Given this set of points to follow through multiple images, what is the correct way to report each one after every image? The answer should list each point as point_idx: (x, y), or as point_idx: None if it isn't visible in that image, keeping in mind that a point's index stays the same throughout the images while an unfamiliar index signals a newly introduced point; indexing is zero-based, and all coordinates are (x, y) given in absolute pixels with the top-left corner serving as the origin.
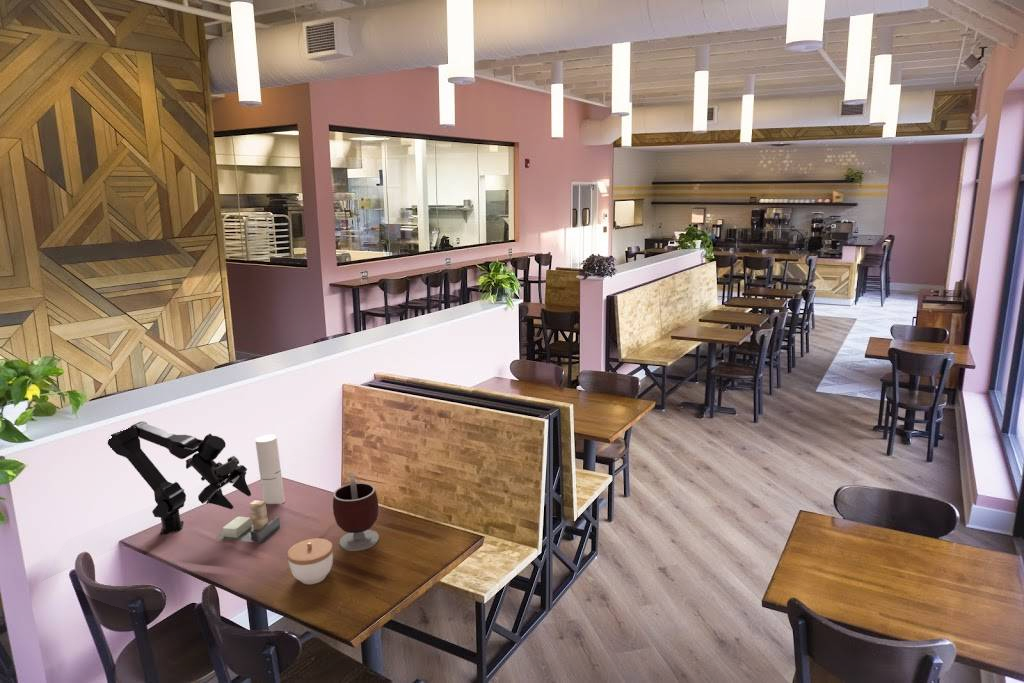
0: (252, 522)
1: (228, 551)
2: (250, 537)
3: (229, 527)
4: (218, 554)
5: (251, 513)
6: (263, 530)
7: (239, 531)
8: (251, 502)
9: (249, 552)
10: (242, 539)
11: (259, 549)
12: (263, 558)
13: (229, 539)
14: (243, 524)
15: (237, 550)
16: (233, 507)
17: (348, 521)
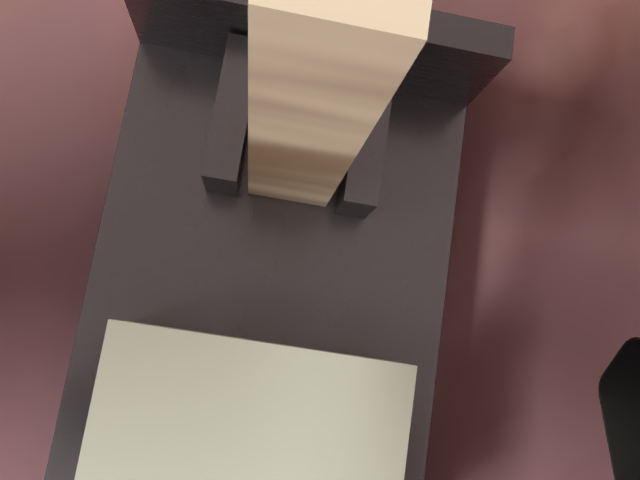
0: (346, 169)
1: (540, 359)
2: (379, 219)
3: (373, 476)
4: (594, 427)
5: (376, 119)
6: (436, 18)
7: (347, 354)
8: (365, 26)
9: (539, 161)
10: (419, 284)
11: (488, 97)
12: (610, 11)
13: (425, 425)
14: (265, 343)
15: (518, 283)
16: (633, 340)
17: None
